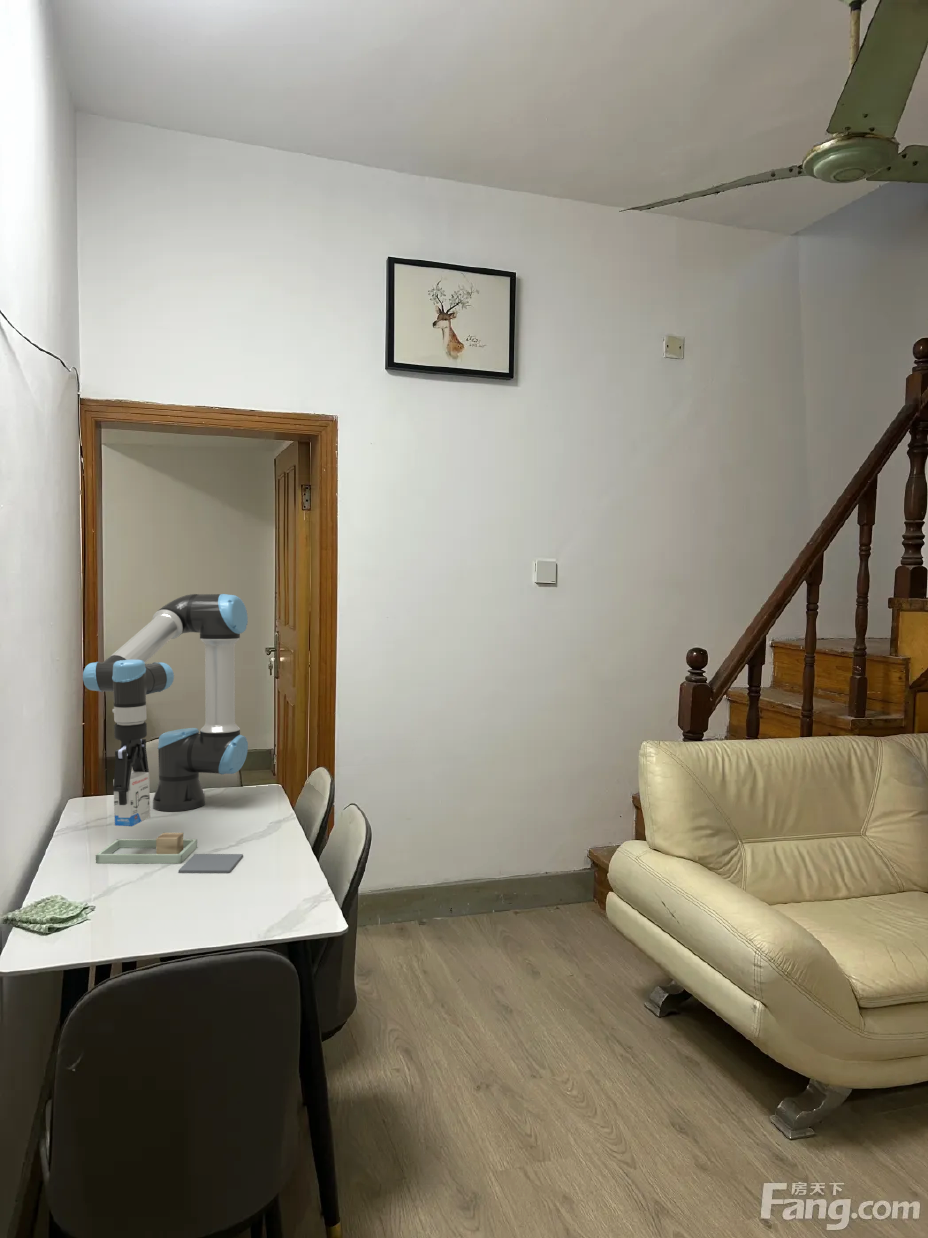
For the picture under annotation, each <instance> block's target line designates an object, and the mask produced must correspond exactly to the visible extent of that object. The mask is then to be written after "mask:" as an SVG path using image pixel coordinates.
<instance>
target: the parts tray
mask: <svg viewBox="0 0 928 1238" xmlns="http://www.w3.org/2000/svg"><path fill="white" fill-rule="evenodd" d="M197 848H198V839H195V838H193V839H190V838H189V839H188V838H186V839H185V838H183V850H182V851H181V852H180V853H179V854H156V853H114V852H115V851H117V850H118V849H156V839H155V838H151V839H149V838H148V839H147V838H145V839H144V838H136V839H135V838H127V839H126V838H123V839H122V838H117V839H115V840H114V841H113V842H111V843H110V844H109V845H107V846H105V848H103V849H101V850H100V851H99V852H98V853H96V854H95V864H182V863H183V862H184V860H185V859H187V858H188V857H189V856H190V855H191V854H192V853H193V852H194V851H195V850H196V849H197Z"/></svg>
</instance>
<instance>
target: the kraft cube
mask: <svg viewBox="0 0 928 1238" xmlns="http://www.w3.org/2000/svg"><path fill="white" fill-rule="evenodd" d="M183 839H184V832H162V833H161V834H160V835H159V836H158V837H156V848H155V849H156V851H155V852H156V853H155V854H179V853H180V852H181V851H182V850H183V849H184V848H183Z"/></svg>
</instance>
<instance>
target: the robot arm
mask: <svg viewBox="0 0 928 1238" xmlns="http://www.w3.org/2000/svg"><path fill="white" fill-rule="evenodd" d="M248 618H249V617H248V612H247V608H246V605H245V603H244V601H243V599H242V598H240V597H239V596H237V595H235V594H227V593H221V594H219V593H217V594H216V593H215V594H213V593H211V594H210V593H209V594H208V593H206V594H204V593H201V594H199V593H198V594H197V593H192V594H191V593H190V594H186V595H183V596H180V597H178V598H175V599H173V600H171V601H169V602H168V603H166V604H165V605H163V606H162V607H161V608H159V609H158V610H157V611H156V612H154V614H153V615H152V618H151V621H149V622H148V623H147V624H146V625H145V626H144V627H142V628H141V629H140V630H139V631H138V632H136V633H135V634H134V635H133V636H132V637H131V638H129V640H127V641H126V642H125V643H124V644H123V645H121V646H120V647H119V648H118V649H117V650H116V651H115V652H113V653H112V654H111V655H110V656H108V658H106V659H105V660H103V662H102V661H101V662H100V661H96V662H90V663H88V664H87V665H86V666H85V668H83V671H82V681H83V684H84V686H85V689H87V690H89V691H93V692H95V691H96V692H100V693H102V692H108V693H109V692H113V708H112V712H111V713H113V719H114V723H115V724H114V725H113V730H114V734H113V735H114V737H113V738H114V739H115V740H117V741H120V742H121V743H120V748H119V749H116V750H114V757H115V762H114V775H113V776H114V777H113V778H114V779H113V780H114V785H113V793H114V792H118V812H119V818H130V817H131V799H130V791H128V789H129V783H130V776H131V772H132V771H137V772H149V773H150V770H149V763H148V762H149V760H148V752H147V739H145V738H146V737H147V736H148V732H147V731H148V728H147V724H148V723H147V722H146V720H147V718H148V716H147V715H148V714H147V701H146V700H147V699H146V698H147V695H150V694H155V693H161V692H163V691H165V690H167V689H169V688H170V687H171V686H172V685H173V682H174V679H175V675H174V670H173V668H172V667H171V666H170V665H169V664H168V663H166V662H156V661H155V662H152V663H146V662H147V661H149V660H150V659H151V658H152V657H153V656H155V654H156V653H157V652H158V651H160V649H162V648H163V647H164V646H165V645H166V644H167V643H168V642H169V641H170V640H174V639H177V638H178V637H180V636H181V635H183V634H188V633H196V634H197V633H198V634H199V641H201V642H202V643H203V644H204V659H205V661H204V671H205V672H204V673H205V674H204V676H205V677H204V685H205V686H204V687H205V689H204V691H205V692H204V695H205V696H204V700H205V702H204V703H205V707H204V711H205V713H204V714H205V716H204V717H205V718H204V721H205V722H204V725H203V726H202V727H201V728H200V730H199V728H197V727H188V728H181V729H174V730H169V731H166V732H164V733H162V734H160V736H159V737H158V742H157V743H158V744H157V745H158V746H157V752H158V753H157V754H158V784H157V786H156V789H155V792H154V795H153V798H152V808H153V809H154V810H157V811H161V812H182V811H188V810H193V809H197V808H201V807H202V806H204V805H205V804H206V796H205V793H204V790H203V787H202V784H201V780H200V773H201V774H202V773H203V774H204V773H205V774H217V775H228V774H229V775H232V774H233V775H234V774H236V773H237V772H239V771H240V770H241V769H242V767H243V766H244V763H245V761H246V759H247V756H248V749H249V745H248V744H249V742H248V740H247V738H246V736H245V735H242V734H241V728H240V727H239V726H238V724H237V723H236V692H235V691H236V677H235V676H236V672H235V671H236V666H235V665H236V664H235V662H236V659H235V658H236V656H235V655H236V653H235V652H236V650H235V649H236V648H235V647H236V646H235V645H236V644H237V642H238V641H240V640H241V634H242V633H245V631H246V630H247V626H248Z"/></svg>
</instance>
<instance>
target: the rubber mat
mask: <svg viewBox="0 0 928 1238" xmlns="http://www.w3.org/2000/svg"><path fill="white" fill-rule="evenodd" d="M243 857H244V853H194V854H193V855H192V856H191V857H190V858H189V859H188V860H187V861H186V862H185V863H184V864H183V865H182V866H181V867H180V868H179V869H178V874H230V873H231V872H232V870H234V869H235V868H236V865H238V864H239V862H240V861H241V860H242V858H243Z"/></svg>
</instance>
